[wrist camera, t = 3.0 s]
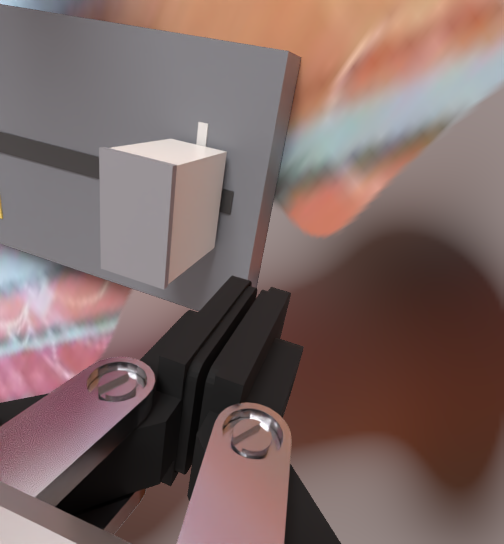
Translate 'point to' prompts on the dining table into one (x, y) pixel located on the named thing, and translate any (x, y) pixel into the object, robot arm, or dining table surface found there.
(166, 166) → the block
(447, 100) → the dining table surface
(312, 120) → the dining table surface
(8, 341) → the dining table surface
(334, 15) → the dining table surface
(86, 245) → the console
